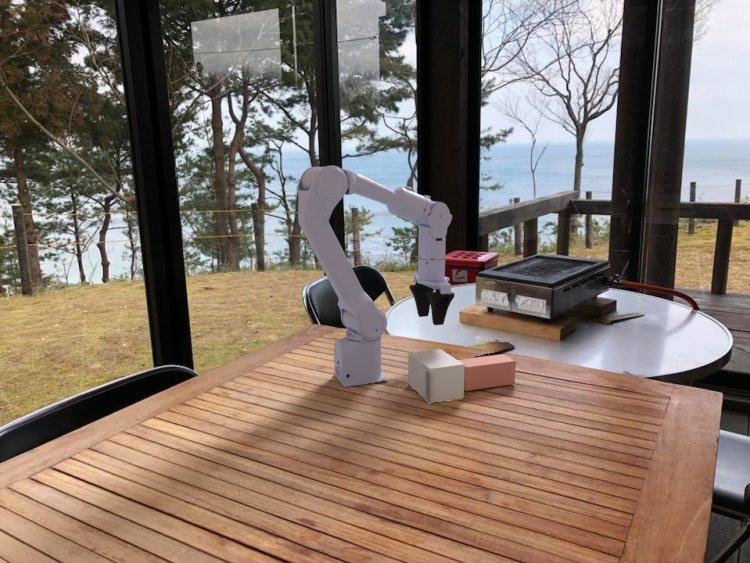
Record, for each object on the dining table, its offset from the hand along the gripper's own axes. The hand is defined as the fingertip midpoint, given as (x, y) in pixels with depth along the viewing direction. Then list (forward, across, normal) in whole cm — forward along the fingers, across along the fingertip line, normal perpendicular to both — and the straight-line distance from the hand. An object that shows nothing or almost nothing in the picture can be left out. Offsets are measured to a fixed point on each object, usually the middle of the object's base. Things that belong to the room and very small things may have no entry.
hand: (430, 320), depth 120 cm
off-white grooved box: (+10, -14, +6) cm, 18 cm away
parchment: (+11, +6, -14) cm, 19 cm away
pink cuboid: (+10, -14, -6) cm, 18 cm away
